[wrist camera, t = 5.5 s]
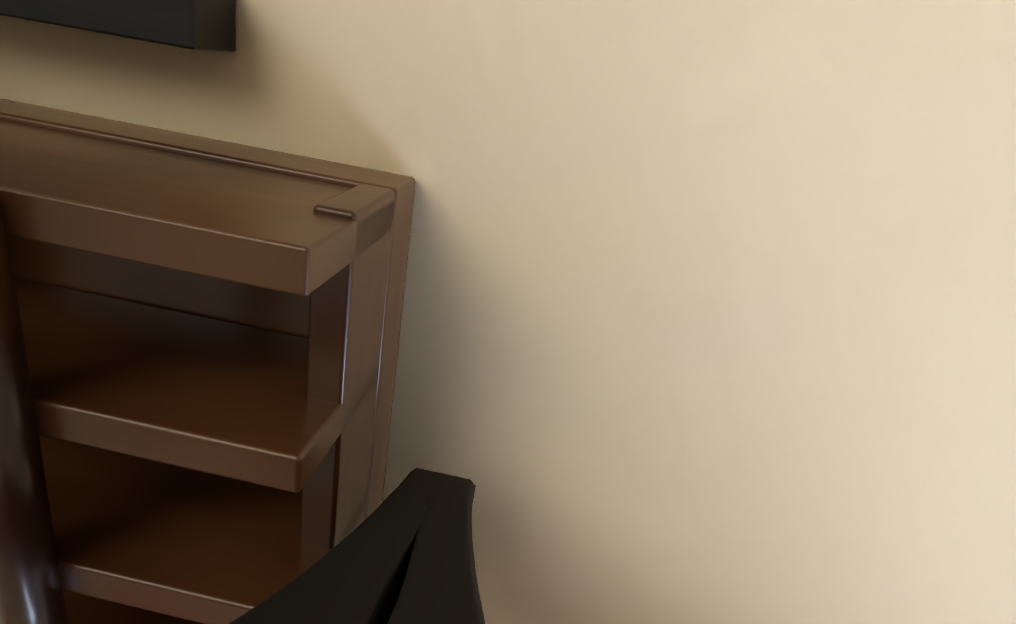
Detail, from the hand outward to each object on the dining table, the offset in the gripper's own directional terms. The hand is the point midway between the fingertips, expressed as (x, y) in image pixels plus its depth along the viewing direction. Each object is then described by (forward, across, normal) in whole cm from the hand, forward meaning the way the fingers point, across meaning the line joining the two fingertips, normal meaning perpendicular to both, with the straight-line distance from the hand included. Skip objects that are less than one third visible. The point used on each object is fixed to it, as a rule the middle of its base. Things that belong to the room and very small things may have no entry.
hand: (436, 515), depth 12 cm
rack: (+1, +5, 0) cm, 6 cm away
